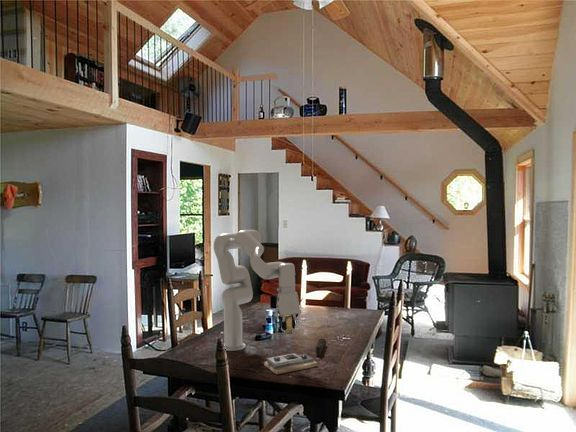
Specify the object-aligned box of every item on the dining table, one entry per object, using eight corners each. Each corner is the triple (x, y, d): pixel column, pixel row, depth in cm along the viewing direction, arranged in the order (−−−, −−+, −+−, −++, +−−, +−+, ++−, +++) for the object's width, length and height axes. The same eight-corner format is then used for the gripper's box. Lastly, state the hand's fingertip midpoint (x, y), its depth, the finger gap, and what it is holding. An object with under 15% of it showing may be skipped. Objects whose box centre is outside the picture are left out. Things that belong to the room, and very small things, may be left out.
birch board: (264, 365, 197) (264, 361, 197) (303, 357, 207) (303, 354, 207) (276, 374, 186) (276, 371, 186) (317, 366, 196) (317, 362, 196)
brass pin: (282, 332, 200) (282, 315, 200) (290, 331, 201) (289, 314, 202) (286, 334, 196) (286, 317, 196) (294, 333, 198) (293, 316, 198)
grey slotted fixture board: (267, 363, 195) (267, 356, 195) (305, 356, 205) (305, 349, 205) (274, 368, 188) (274, 361, 188) (313, 361, 198) (313, 354, 198)
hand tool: (318, 345, 227) (318, 336, 227) (326, 346, 226) (326, 337, 226) (311, 357, 208) (311, 347, 208) (319, 358, 207) (319, 348, 207)
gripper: (274, 292, 192) (275, 333, 192) (306, 289, 200) (307, 328, 199) (267, 290, 198) (268, 329, 198) (298, 286, 206) (299, 324, 206)
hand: (288, 328), depth 199 cm, fingers closed on brass pin, 4 cm apart
